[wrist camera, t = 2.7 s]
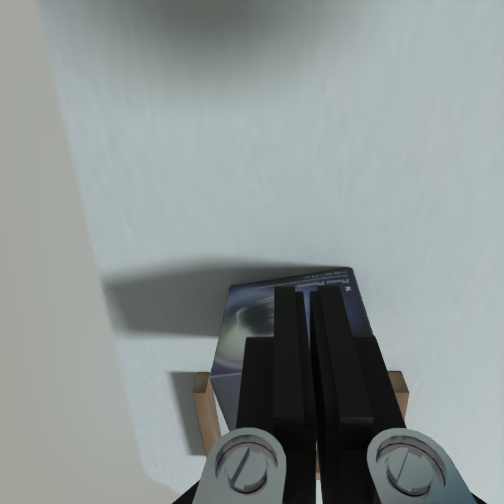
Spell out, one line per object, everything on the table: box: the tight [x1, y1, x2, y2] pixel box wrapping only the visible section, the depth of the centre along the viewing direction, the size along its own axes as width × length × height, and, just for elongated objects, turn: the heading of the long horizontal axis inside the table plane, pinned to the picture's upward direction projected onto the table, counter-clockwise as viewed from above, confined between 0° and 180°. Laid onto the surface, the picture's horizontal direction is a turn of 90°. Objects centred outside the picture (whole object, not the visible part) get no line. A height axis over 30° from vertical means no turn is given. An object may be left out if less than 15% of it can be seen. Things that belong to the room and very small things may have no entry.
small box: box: [210, 268, 373, 431], centre depth 28 cm, size 11×6×10 cm, turn 103°
